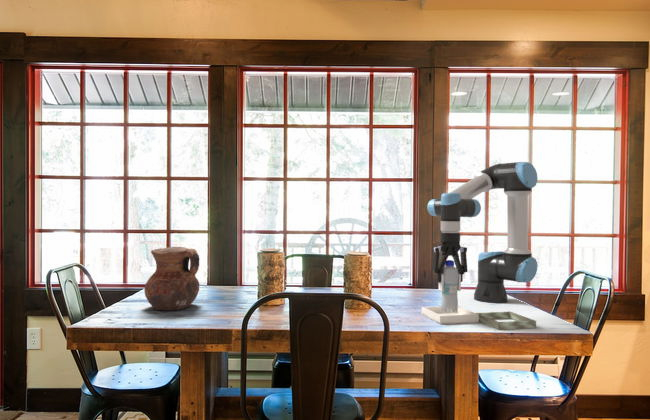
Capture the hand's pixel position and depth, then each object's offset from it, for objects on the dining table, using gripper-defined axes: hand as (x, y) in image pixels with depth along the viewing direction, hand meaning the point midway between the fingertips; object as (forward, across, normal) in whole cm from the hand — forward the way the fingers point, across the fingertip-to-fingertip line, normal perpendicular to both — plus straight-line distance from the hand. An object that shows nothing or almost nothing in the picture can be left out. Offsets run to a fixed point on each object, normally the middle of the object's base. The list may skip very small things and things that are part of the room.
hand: (449, 290), depth 179 cm
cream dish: (+11, 0, 0) cm, 11 cm away
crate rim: (+11, -17, +11) cm, 23 cm away
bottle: (+8, 0, 0) cm, 8 cm away
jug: (+11, +108, -38) cm, 115 cm away
